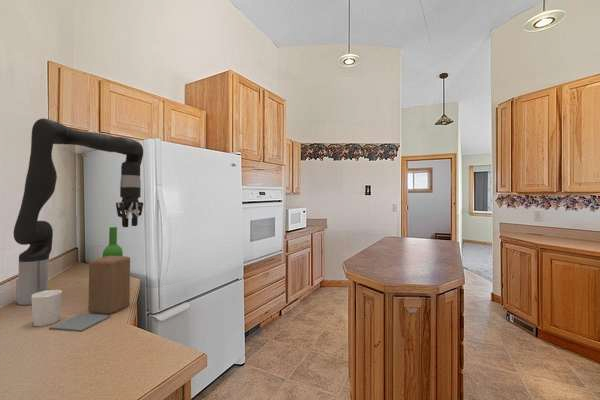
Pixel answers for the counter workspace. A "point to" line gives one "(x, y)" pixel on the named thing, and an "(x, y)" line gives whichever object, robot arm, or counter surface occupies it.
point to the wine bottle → (112, 244)
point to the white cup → (46, 307)
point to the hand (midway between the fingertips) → (129, 226)
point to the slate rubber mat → (80, 322)
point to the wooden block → (109, 284)
